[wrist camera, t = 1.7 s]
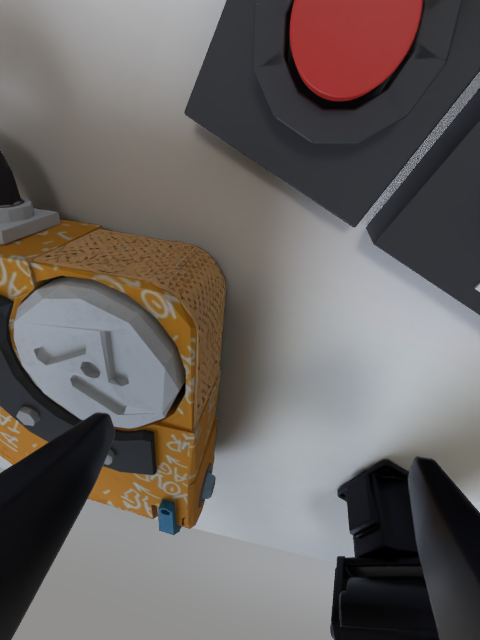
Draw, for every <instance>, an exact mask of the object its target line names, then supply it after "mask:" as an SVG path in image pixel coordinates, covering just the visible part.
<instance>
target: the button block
mask: <svg viewBox="0 0 480 640" xmlns="http://www.w3.org/2000/svg"><path fill="white" fill-rule="evenodd" d="M293 3H294V0H227V1H226V4H225V7H224V9H223V12H222V14H221V17H220V20H219V22H218V25H217V28H216V30H215V33H214V36H213V38H212V41H211V43H210V46H209V49H208V51H207V54H206V57H205V59H204V62H203V65H202V67H201V70H200V72H199V75H198V78H197V80H196V83H195V86H194V88H193V91H192V94H191V96H190V99H189V101H188V104H187V107H186V109H185V115H186V116H188V117H189V118H191V119H192V120H194V121H195V122H197V123H198V124H200V125H201V126H203V127H204V128H206V129H207V130H209V131H210V132H212V133H213V134H215V135H216V136H218V137H219V138H221V139H222V140H224V141H225V142H227V143H228V144H230V145H231V146H233V147H234V148H236V149H237V150H239V151H240V152H242V153H243V154H245V155H246V156H248V157H249V158H251V159H252V160H254V161H255V162H257V163H258V164H260V165H261V166H263V167H264V168H266V169H267V170H269V171H270V172H272V173H273V174H275V175H276V176H278V177H279V178H281V179H282V180H284V181H285V182H287V183H288V184H290V185H291V186H293V187H294V188H295V189H297V190H298V191H300V192H301V193H303V194H304V195H306V196H307V197H309V198H310V199H312V200H313V201H315V202H316V203H318V204H319V205H321V206H322V207H324V208H325V209H327V210H328V211H330V212H331V213H333V214H334V215H336V216H337V217H339V218H340V219H342V220H343V221H345V222H346V223H348V224H349V225H351V226H352V227H356V226H357V224H358V223H359V222H360V221H361V219H362V218H363V217H364V216H365V214H366V213H367V212H368V211H369V209H370V208H371V207H372V206H373V204H374V203H375V202H376V201H377V199H378V198H379V197H380V196H381V194H382V193H383V192H384V191H385V189H386V188H387V187H388V186H389V184H390V183H391V182H392V180H393V179H394V178H395V177H396V175H397V174H398V173H399V172H400V170H401V169H402V168H403V167H404V165H405V164H406V163H407V162H408V160H409V159H410V158H411V157H412V155H413V154H414V153H415V152H416V150H417V149H418V148H419V147H420V145H421V144H422V143H423V142H424V140H425V139H426V138H427V137H428V135H429V134H430V133H431V132H432V130H433V129H434V128H435V126H436V125H437V124H438V123H439V121H440V120H441V119H442V118H443V116H444V115H445V114H446V113H447V111H448V110H449V109H450V108H451V106H452V105H453V104H454V103H455V101H456V100H457V99H458V98H459V96H460V95H461V94H462V93H463V91H464V90H465V89H466V88H467V86H468V85H469V84H470V83H471V81H472V80H473V79H474V78H475V76H476V75H477V74H478V72H479V71H480V0H423V7H422V13H421V19H420V23H419V26H418V30H417V33H416V35H415V38H414V41H413V43H412V45H411V47H410V49H409V51H408V53H407V54H406V56H405V57H404V59H403V61H402V62H401V63H400V65H399V66H398V67H397V69H396V70H395V71H394V72H393V73H392V74H391V75H390V76H389V77H388V78H387V79H386V80H385V81H384V82H382V83H381V84H380V85H378V86H377V87H376V88H374V89H373V90H371V91H370V92H369V93H367V94H365V95H363V96H361V97H359V98H356V99H353V100H349V101H341V102H339V101H330V100H326V99H324V98H321V97H319V96H318V95H316V94H315V93H313V92H312V91H311V90H310V89H309V88H308V87H307V86H306V85H305V83H304V82H303V80H302V79H301V77H300V75H299V73H298V70H297V67H296V64H295V61H294V58H293V55H292V50H291V45H290V19H291V12H292V7H293Z"/></svg>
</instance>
